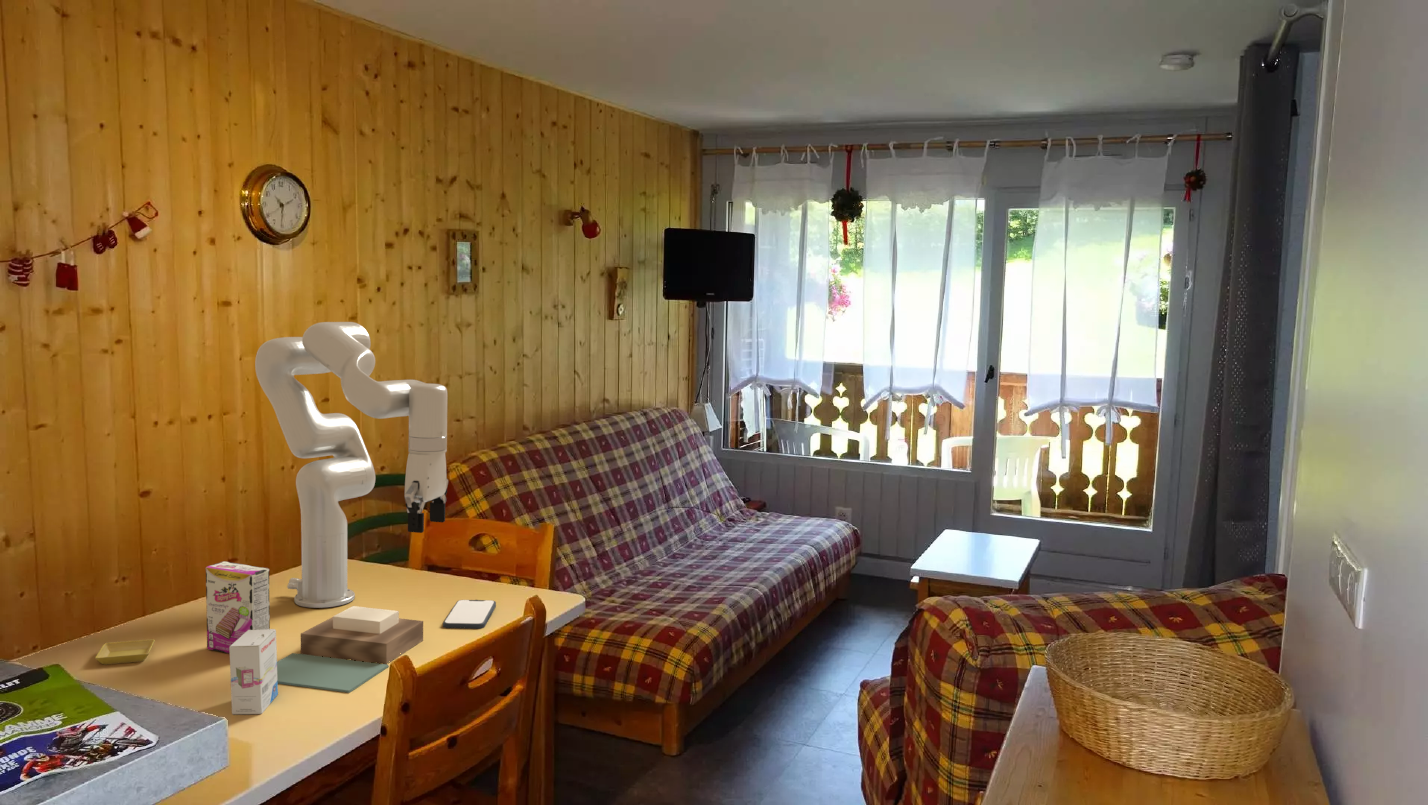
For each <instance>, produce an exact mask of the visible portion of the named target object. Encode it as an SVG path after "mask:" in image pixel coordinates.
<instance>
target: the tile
mask: <svg viewBox="0 0 1428 805" xmlns="http://www.w3.org/2000/svg"><path fill="white" fill-rule="evenodd" d="M332 617H333V629H342V630H351V631H359V632H368V633H377V634H381V633H382V632H384V631H386V630H387V629H389V628H391V627H392V626H394V625H396V624H397V623H399V618H400V616H399V610H393V609H392V610H391V609H382V608H375V607H365V606H358V605H352V606H351V607H349V608H346V609H345V610H343V611H341V612H338V613H337V614H334V615H332Z"/></svg>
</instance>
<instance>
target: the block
mask: <svg viewBox="0 0 1428 805" xmlns="http://www.w3.org/2000/svg"><path fill="white" fill-rule="evenodd" d="M423 641H424V620H418V619H408V618H401V617H399V623H397V624H396V625H394V626H392V627H391V628H389V629H387V630H386V631H384V632H382V633H381V634H377V633H368V632H359V631H351V630H342V629H333V616H332V617H329V618H328V619H326V620H323V621H321V622H320V623H318V624H316V625H315V626H312V627H311V628H308V629H307V630H304V631H303V632H301V633H300V654H304V655H313V656H321V657H322V656H323V657H329V658H330V657H331V658H337V659H345V660H346V659H351V660H353V661H354V660H356V661H364V662H370V663H371V662H377V663H378V664H379V663H383V664H386V665H388V664H389V663H391V662H393V661H394V660H395V659H397V658H398V656H399V657H400V656H402V655H403V654H405V653H406V652H408V651H409V650H411V649H412V648H414V647H416V646H417V645H418V644H420V643H421V642H423ZM400 653H401V654H400ZM393 659H394V660H393ZM389 661H390V662H389ZM388 662H389V663H388ZM387 663H388V664H387Z"/></svg>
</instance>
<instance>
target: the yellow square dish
mask: <svg viewBox="0 0 1428 805" xmlns="http://www.w3.org/2000/svg"><path fill="white" fill-rule="evenodd" d="M155 641H156V640H155V639H140V640H139V639H138V640H126V641H115V642H106V643H103V644H102V645H101V647H100V649H99V651H98V653H97V654H96V656H95V658H94V659H95V660H96V661H97V662H99V664H101V665H106V666H107V665H114V664H115V665H117V664H129V663H138V662H139V663H140V662H144V661H145V660H146V659H147V657H148V656H149V654H150V652H151V650H152V647H153V646H154V643H155Z"/></svg>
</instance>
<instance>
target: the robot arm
mask: <svg viewBox="0 0 1428 805" xmlns="http://www.w3.org/2000/svg"><path fill="white" fill-rule="evenodd" d="M371 343H372V342H371V337H370V334H369V333H368V331H367V329H366V328H365V327H364V326H363V325H361V324H359V323H357V322H354V321H324V322H323V321H322V322H316V323H314V324H312V325H310V326H309V327H308V328H306V330H305V331H304V333H303V335H302V336H286V337H285V336H283V337H277V338H276V337H275V338H272V339H270V340H269V339H268V340H267V341H265V342H263V343H262V344H261V345H260V347H259V348H258V349H257V352H256V356H255V362H254V364H255V365H254V368H255V374H256V375H255V376H256V378H257V381H258V382H259V385H260V387H261V389H262V391H263V393H264V394H265V396H266V397H267V399H268V401H269V402H270V404H271V406H272V408H273V410H274V412H275V415H276V418H277V422H278V423H279V426H280V428H281V429H280V430H281V431H282V434H283V436H284V438H285V442H286V444H287V445H288V448H289V450H290V451H291V452H290V453H291V454H293V455H294V457H296V458H299V459H312V458H313V459H315V458H322V457H327V456H333V457H330V458H325V459H318V460H314V461H312V462H309V463H306V464H304V465H303V466H302V467H301V468H300V469H299V471H298V472H297V473H296V477H295V487H296V492H297V497H298V501H299V508H300V521H301V522H300V526H301V529H300V530H301V531H300V533H301V578H297V577H291V578H290V579H289V580H288V584H287V589H290V590H296V591H297V594H295V596H294V597H293V598H294V603H295V604H296V605H297V606H300V607H304V608H310V609H311V608H312V609H317V608H319V609H324V608H334V607H340V606H343V605H347V604H348V603H351V602H352V601H354V600H355V596H356V593H355V592H354V590H352V589H350V588H348V520H347V517H346V514H345V512H344V510H343V509H342V508H341V506H340V504H339V502H341V501H343V500H349V499H354V498H358V497H363V496H366V495H368V494H369V493H370V492H372V490H373V489H374V487H375V485H376V484H375V483H376V472H375V467H374V464H373V462H372V460H371V457H370V454H369V452H368V449H367V446H366V445H365V442H364V439H363V437H362V435H361V432H360V430H359V427H358V426H357V424H356V422H355V421H354V420H353V419H352V418H351V417H350V416H348V415H346V414H344V413H341V412H334V413H333V412H332V413H331V412H330V413H322V412H320V410H319V409H318V407H317V405H316V402H315V399H314V397H313V395H312V394H311V392H310V391H309V389H307V387H306V386H305V385H304V384H302V383H301V382H300V381H298V380H297V378H295V376H300V375H301V376H302V375H304V376H305V375H317V374H318V375H319V374H326V373H327V374H328V373H333V374H334V375H335V376H337V377H338V378H340V385H341V389H342V392H343V395H344V397H345V399H346V401H347V402H348V403H350V404H351V405H352V406H354V407H355V408H356V409H357V410H359V411H360V412H361V413H363V414H364V415H366V416H369V417H370V418H372V419H379V420H380V419H381V420H382V419H389V418H397V417H407V416H408V456H407V461H406V469H405V480H404V501H405V507H406V513H407V532H409V533H418V534H422V533H424V531H425V527H424V526H425V512H423V510H424V507H425V505H426V503H428V502H429V521H430V522H434V523H445V522H446V502H447V493H448V485H449V479H448V478H447V459H446V453H447V451H448V450H447V449H448V447H447V446H448V389H447V387H446V385H445V386H444V385H442V384H440V383H426V382H423V381H421V380H417V379H399V380H398V379H394V380H382V381H377V380H375V379H373V378H372V377H370V376H371V374H372V373H373V371H374V369H375V366H376V357H375V355H374V352H373V351H372V350H371Z"/></svg>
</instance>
